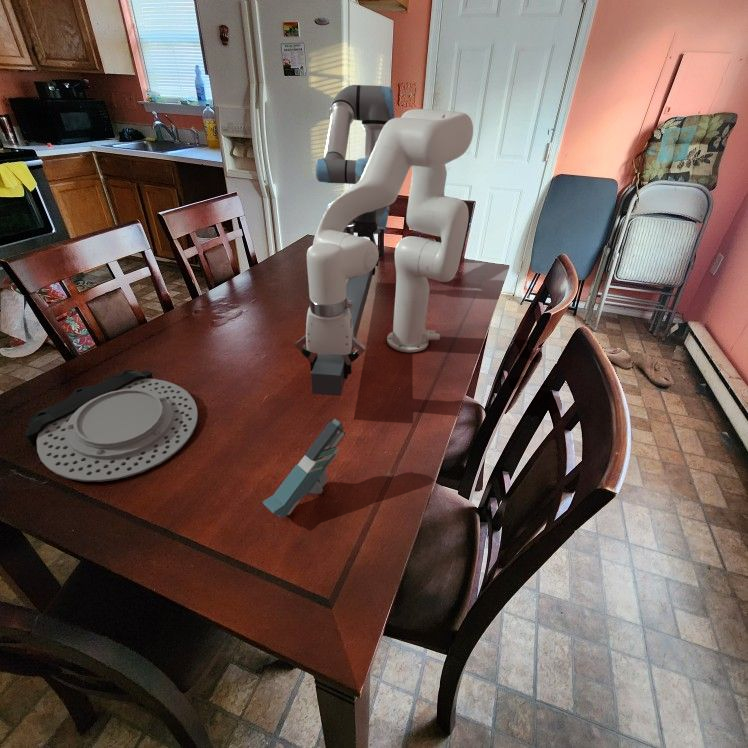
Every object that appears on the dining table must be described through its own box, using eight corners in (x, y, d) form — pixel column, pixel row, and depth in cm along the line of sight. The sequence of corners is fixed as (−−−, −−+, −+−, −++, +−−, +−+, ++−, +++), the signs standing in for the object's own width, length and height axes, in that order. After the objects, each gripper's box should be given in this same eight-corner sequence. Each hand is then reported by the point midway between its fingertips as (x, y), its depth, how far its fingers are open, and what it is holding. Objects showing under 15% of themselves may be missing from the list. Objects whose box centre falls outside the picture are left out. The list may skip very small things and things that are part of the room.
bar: (340, 396, 92) (340, 375, 89) (312, 393, 92) (310, 373, 89) (374, 268, 160) (374, 254, 157) (357, 267, 161) (358, 253, 158)
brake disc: (18, 425, 89) (8, 408, 86) (155, 369, 108) (150, 354, 105) (75, 511, 73) (64, 493, 70) (224, 428, 92) (221, 411, 89)
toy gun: (362, 441, 81) (342, 423, 73) (302, 525, 77) (273, 515, 69) (349, 432, 83) (328, 413, 75) (290, 513, 79) (260, 502, 71)
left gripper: (394, 208, 144) (390, 271, 158) (339, 204, 145) (340, 267, 159) (393, 213, 138) (389, 278, 152) (336, 210, 139) (337, 275, 153)
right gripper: (371, 299, 88) (369, 367, 99) (291, 294, 89) (298, 362, 100) (367, 316, 82) (366, 386, 93) (282, 310, 83) (291, 381, 94)
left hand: (364, 273), depth 155 cm, fingers closed on bar, 7 cm apart
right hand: (331, 373), depth 96 cm, fingers closed on bar, 6 cm apart
